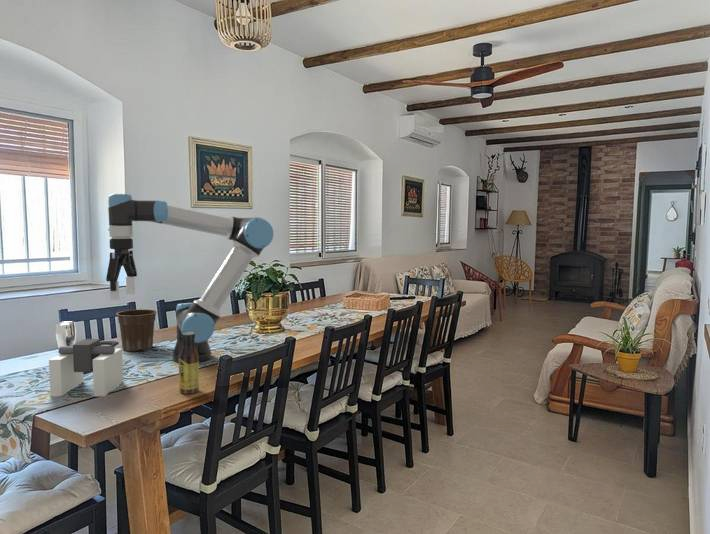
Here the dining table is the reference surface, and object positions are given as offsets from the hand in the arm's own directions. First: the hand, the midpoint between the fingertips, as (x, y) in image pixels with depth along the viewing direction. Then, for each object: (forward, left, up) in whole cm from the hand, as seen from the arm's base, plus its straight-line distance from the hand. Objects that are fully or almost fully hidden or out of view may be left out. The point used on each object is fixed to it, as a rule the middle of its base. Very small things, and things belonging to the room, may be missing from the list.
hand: (123, 297), depth 178 cm
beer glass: (+31, -20, -29) cm, 47 cm away
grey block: (+6, +15, -22) cm, 27 cm away
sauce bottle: (-28, +18, -29) cm, 44 cm away
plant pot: (+10, -38, -29) cm, 49 cm away
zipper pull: (+18, -13, -29) cm, 36 cm away
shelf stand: (+6, +15, -29) cm, 33 cm away
